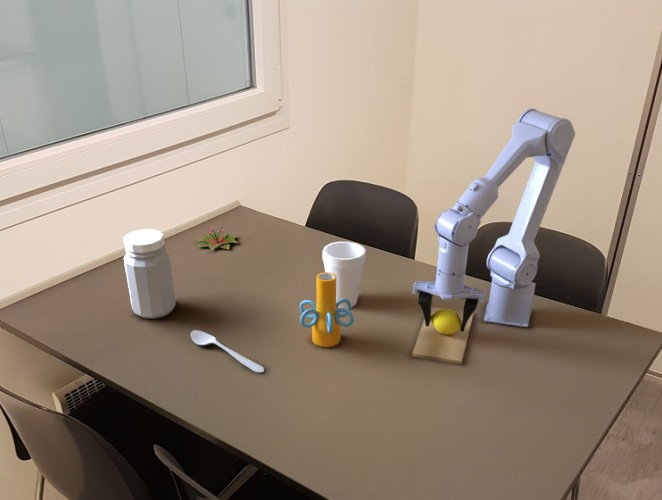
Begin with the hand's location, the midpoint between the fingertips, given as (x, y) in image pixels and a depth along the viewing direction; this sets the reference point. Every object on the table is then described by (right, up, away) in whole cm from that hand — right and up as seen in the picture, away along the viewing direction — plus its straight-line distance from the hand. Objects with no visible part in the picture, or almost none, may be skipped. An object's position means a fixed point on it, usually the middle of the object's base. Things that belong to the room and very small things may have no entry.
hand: (444, 326), depth 147 cm
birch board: (0, -2, +1) cm, 2 cm away
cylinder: (-25, -3, 0) cm, 25 cm away
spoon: (-46, -6, -5) cm, 46 cm away
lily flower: (-54, +23, +41) cm, 72 cm away
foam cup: (-21, +6, +14) cm, 26 cm away
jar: (-64, +4, +11) cm, 65 cm away
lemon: (0, -1, +1) cm, 2 cm away
